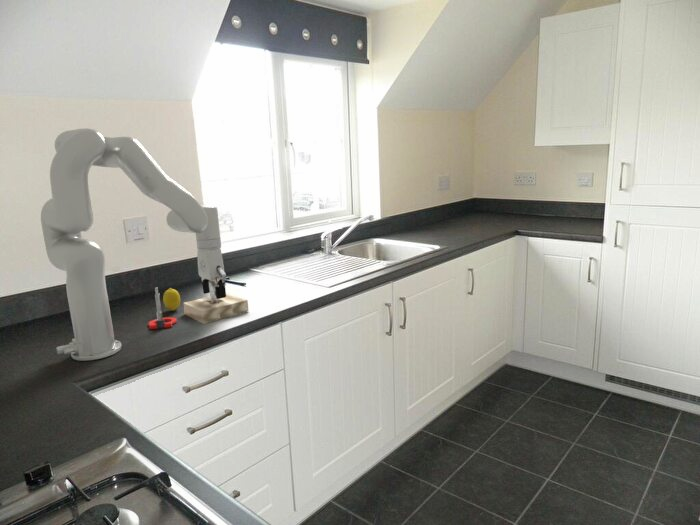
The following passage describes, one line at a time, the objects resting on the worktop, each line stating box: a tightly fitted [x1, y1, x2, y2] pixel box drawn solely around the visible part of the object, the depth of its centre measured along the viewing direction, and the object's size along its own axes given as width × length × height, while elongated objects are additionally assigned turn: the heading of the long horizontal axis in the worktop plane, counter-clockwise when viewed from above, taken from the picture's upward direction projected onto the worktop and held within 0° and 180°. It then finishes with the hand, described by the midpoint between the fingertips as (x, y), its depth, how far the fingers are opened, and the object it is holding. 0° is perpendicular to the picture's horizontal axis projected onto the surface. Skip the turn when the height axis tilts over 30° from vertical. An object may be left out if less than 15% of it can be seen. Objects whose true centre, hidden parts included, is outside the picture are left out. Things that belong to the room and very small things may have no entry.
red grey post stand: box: [147, 287, 178, 330], centre depth 163 cm, size 8×13×9 cm
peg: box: [209, 279, 220, 304], centre depth 171 cm, size 3×3×11 cm
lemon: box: [162, 287, 182, 312], centre depth 176 cm, size 6×6×8 cm
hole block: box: [182, 291, 249, 325], centre depth 172 cm, size 16×14×4 cm
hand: (214, 295), depth 171 cm, fingers open, 8 cm apart
